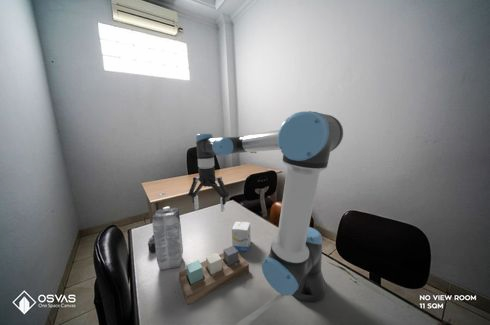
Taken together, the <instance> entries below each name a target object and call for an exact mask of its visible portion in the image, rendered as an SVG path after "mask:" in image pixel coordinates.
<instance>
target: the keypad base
mask: <svg viewBox="0 0 490 325" xmlns="http://www.w3.org/2000/svg"><path fill="white" fill-rule="evenodd" d="M218 255H219V256H220V258H221V260H222V270H220V271H218V272H216V273H214V274H212V275H211V274H210V272H209V270H208V269H207V262H206V260H204V261H202V262H200V264H201V265H202V267H203V279H202V280H200V281H198V282H196V283H194V284H190V281H189V278H188V274H187V268H185V269H183V270H180V271H178V280H179V283H180V285H181V286H180V287H181V289H182V292H183V294H184V297H185V300H186V304H187V305H189V304H191V303H193V302H195V301H198V300H199V299H202V298H203V297H205V296H207V295H209V294H210V293H212V292H214V291H215V290H218V289H220V288H221V287H224V286H225V285H228V284H229V283H231V282H232V281H235V280H236V279H238V278H240V277H241V276H243V275H246V274H247V273H249V272H250V265H249V263H248V262H247V261H246V260H245V259H244V258H243V256H241V254H240V253H239V252H238V258H239V262H237V263H235V264H233V265H231V266H228V265H227V263H226V262H225V261H224V252H223V253H221V254H218Z"/></svg>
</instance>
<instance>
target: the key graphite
mask: <svg viewBox="0 0 490 325" xmlns="http://www.w3.org/2000/svg"><path fill="white" fill-rule="evenodd" d="M223 253H224V261H225V262H226V263H227V264H226V265H227V266H228V267H230V266H232V265H234V264H236V263H237V262H239V258H238V253H239V251H238V250H236V249H235V247H234V246H232V245H231V246H229V247H227V248H224V249H223Z"/></svg>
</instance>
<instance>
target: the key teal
mask: <svg viewBox="0 0 490 325" xmlns="http://www.w3.org/2000/svg"><path fill="white" fill-rule="evenodd" d="M200 263H201V262H200V260H199V259H197V260H196V261H193V262H190V263H188V264H187V265H186V269H187V274H188V278H189V281H190V282H189V284H190V285H193V284H195V283H197V282H199V281H201V280H203V267H202V265H201V264H200Z"/></svg>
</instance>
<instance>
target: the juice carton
mask: <svg viewBox="0 0 490 325" xmlns="http://www.w3.org/2000/svg"><path fill="white" fill-rule="evenodd" d="M170 207H171V206H165V207H162V209H158V210H156V212H155V213H154V215H153V216H152V217H151V219H152V220H151V221H152V233H153V235H154V241H155V249H156V252H155V256H156V263H157V266H158V269H159V271H165V270H169V269H173V268H174V269H176V268H180V267H181V262H182V258H183V254H184V246H183V244H184V243H183V237H182V236H183V234H182V225H181V216H180V210H179V208H178V207H173V208H170Z"/></svg>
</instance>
